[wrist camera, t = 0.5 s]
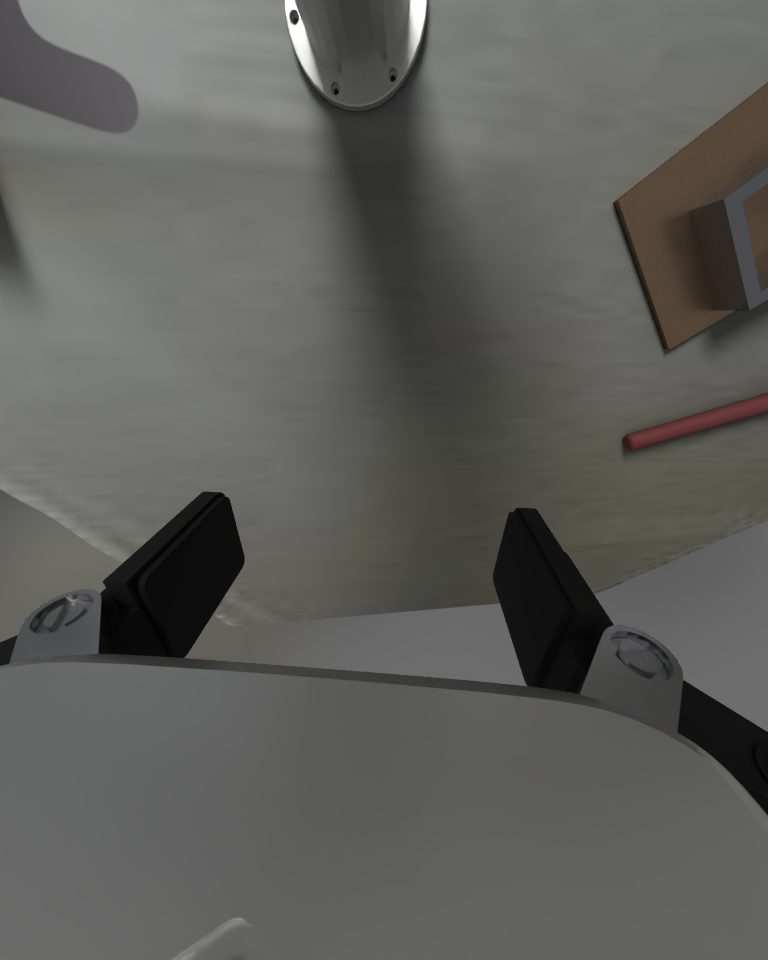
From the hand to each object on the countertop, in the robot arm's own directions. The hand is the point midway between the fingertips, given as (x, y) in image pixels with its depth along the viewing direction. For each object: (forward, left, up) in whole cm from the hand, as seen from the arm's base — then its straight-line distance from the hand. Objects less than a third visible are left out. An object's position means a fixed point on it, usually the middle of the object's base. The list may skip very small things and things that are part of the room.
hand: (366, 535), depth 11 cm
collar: (+9, +39, -36) cm, 54 cm away
